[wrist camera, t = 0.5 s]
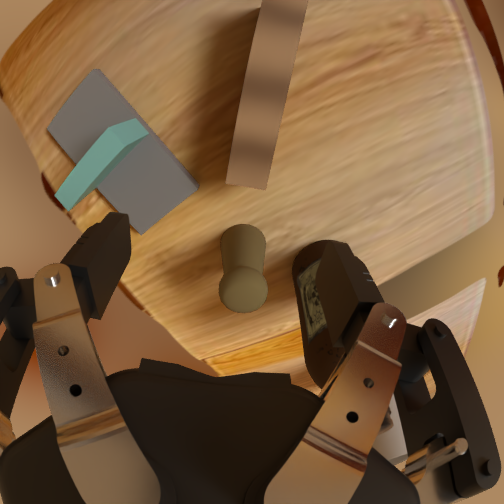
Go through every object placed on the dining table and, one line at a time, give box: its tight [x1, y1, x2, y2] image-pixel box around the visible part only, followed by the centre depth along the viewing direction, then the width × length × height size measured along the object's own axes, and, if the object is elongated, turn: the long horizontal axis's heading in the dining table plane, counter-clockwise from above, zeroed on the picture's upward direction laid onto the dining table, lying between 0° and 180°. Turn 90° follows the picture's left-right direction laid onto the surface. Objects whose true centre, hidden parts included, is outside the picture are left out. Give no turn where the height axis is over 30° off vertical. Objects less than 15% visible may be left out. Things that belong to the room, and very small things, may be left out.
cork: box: [219, 224, 268, 313], centre depth 33 cm, size 6×6×11 cm
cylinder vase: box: [372, 394, 408, 465], centre depth 43 cm, size 12×12×25 cm
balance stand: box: [47, 69, 200, 235], centre depth 26 cm, size 20×10×8 cm, turn 36°
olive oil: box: [292, 240, 394, 436], centre depth 29 cm, size 11×11×25 cm
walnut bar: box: [225, 0, 308, 190], centre depth 24 cm, size 20×4×6 cm, turn 169°
